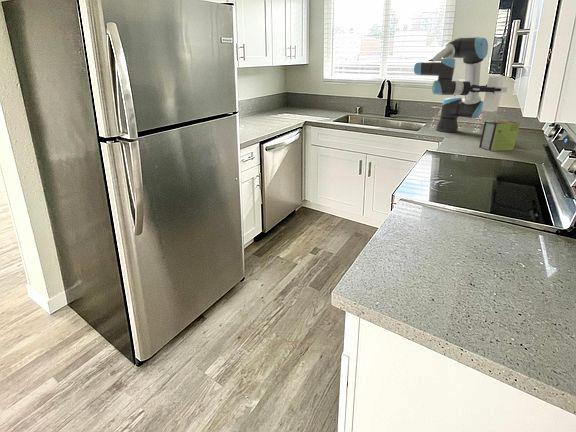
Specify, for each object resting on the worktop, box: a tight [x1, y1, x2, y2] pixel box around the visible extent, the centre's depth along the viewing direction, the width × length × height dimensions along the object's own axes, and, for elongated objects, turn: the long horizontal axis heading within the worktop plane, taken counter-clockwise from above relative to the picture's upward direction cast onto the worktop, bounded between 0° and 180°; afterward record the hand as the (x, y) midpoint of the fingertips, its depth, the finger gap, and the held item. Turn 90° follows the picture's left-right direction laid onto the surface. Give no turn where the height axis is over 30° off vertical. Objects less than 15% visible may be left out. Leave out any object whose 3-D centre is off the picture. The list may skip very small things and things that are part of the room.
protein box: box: [479, 119, 521, 152], centre depth 216 cm, size 10×15×16 cm
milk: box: [482, 73, 506, 113], centre depth 210 cm, size 6×6×22 cm
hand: (502, 89), depth 209 cm, fingers closed on milk, 8 cm apart
